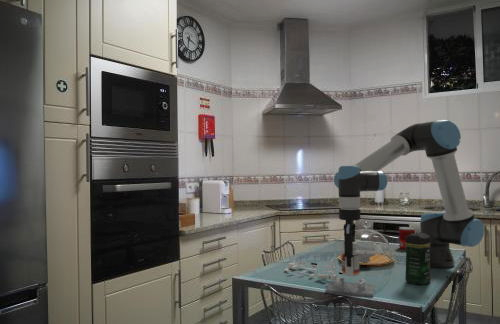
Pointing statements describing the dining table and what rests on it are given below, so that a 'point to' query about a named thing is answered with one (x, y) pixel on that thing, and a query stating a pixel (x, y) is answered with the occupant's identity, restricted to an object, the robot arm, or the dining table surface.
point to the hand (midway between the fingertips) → (350, 273)
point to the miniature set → (321, 276)
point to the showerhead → (365, 255)
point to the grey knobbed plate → (351, 288)
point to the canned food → (404, 235)
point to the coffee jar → (418, 258)
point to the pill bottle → (355, 259)
